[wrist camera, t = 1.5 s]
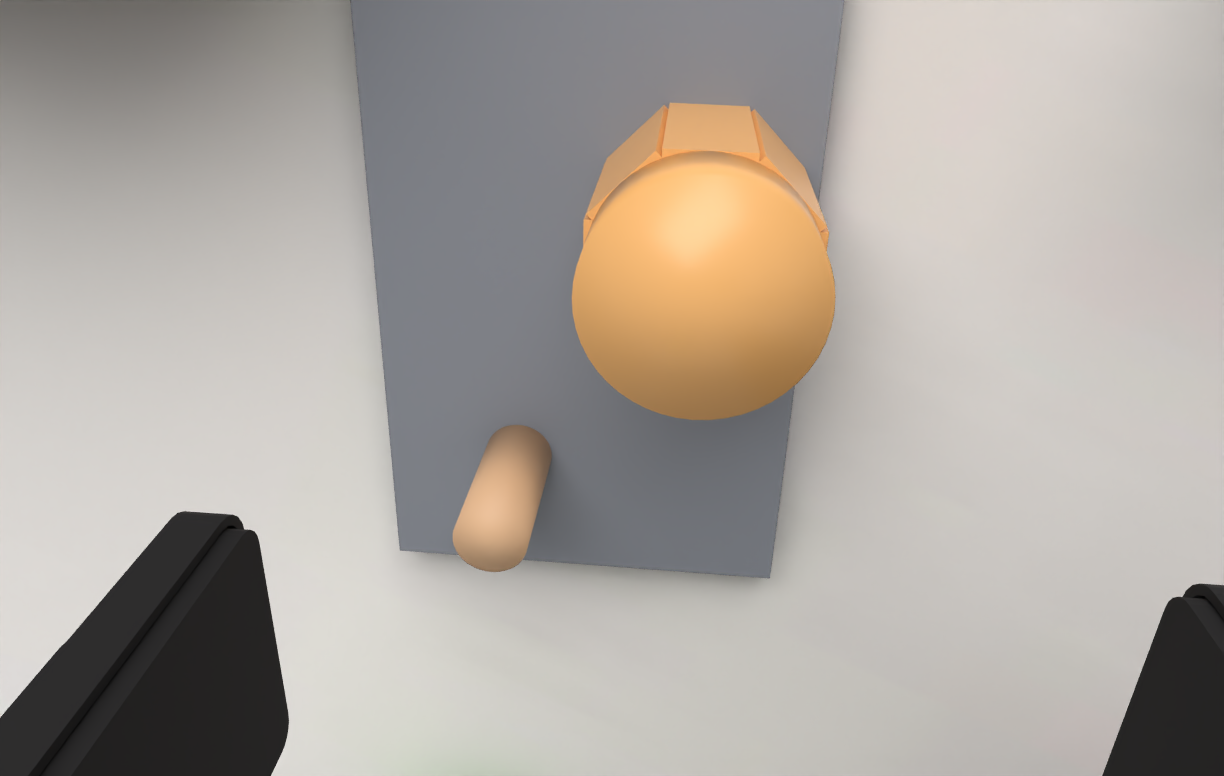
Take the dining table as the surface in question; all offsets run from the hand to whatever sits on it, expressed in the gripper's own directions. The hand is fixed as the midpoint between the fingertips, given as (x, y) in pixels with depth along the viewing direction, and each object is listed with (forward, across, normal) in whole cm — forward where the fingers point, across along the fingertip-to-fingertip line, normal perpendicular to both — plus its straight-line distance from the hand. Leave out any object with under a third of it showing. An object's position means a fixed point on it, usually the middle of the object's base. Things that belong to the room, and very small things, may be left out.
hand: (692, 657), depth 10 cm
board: (+18, +3, +3) cm, 19 cm away
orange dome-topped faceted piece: (+17, 0, 0) cm, 17 cm away
